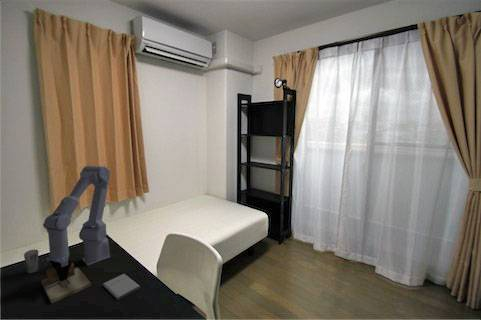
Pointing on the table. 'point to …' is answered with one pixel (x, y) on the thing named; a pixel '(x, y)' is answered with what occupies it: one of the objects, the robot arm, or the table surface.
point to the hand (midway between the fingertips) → (61, 276)
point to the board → (66, 286)
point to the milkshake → (31, 260)
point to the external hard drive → (121, 286)
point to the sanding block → (53, 276)
